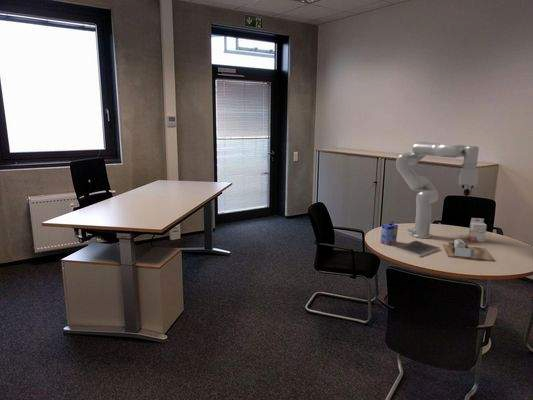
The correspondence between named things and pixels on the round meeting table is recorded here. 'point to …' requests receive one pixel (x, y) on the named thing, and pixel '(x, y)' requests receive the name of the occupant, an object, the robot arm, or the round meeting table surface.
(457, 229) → the round meeting table surface
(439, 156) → the robot arm
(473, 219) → the ink cartridge box
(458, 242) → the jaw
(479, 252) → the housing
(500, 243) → the round meeting table surface
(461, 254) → the gate
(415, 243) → the picture frame
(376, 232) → the round meeting table surface
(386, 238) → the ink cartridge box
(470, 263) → the round meeting table surface
